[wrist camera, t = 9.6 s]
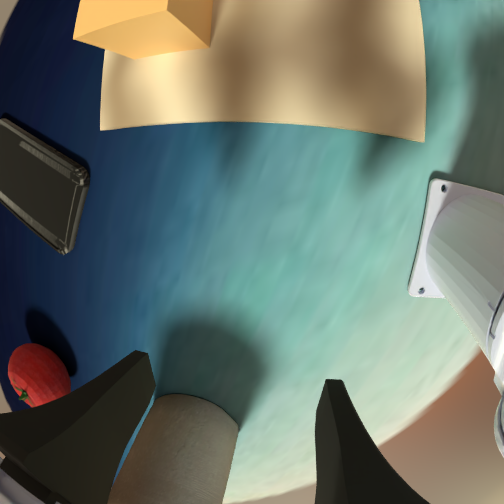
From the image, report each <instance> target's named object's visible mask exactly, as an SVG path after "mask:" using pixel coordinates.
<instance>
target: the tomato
mask: <svg viewBox="0 0 504 504" xmlns="http://www.w3.org/2000/svg"><path fill="white" fill-rule="evenodd" d="M8 375H9V378H10V381H11V383H12V384H11V385H12V386H13V387H14V389H15V391H16V392H17V393H18V395H19V396H20V397H19V400H22V399H23V401H25V402H26V403H27V404H29V405H30V406H31V407H36V406H39V405H42V404H45V403H48V402H50V401H53V400H55V399H58V398H60V397H62V396H64V395H67V394H69V393H70V392H71V381H70V377H69V374H68V372H67V369H66V367H65V365H64V363H63V362H62V361H61V359H60V358H59V357H58V356H57V355H56V354H55V353H54V352H53V351H51V350H50V349H48V348H46V347H44V346H42V345H39V344H36V343H32V344H24V345H22V346H20V347H18V348H16V349H15V351H14V352H13V354H12V356H11V358H10V361H9V365H8Z"/></svg>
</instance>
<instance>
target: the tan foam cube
mask: <svg viewBox="0 0 504 504" xmlns="http://www.w3.org/2000/svg"><path fill="white" fill-rule="evenodd" d="M212 8H213V0H81V1H80V5H79V10H78V14H77V19H76V25H75V30H74V36H73V39H74V40H78V41H81V42H85V43H88V44H91V45H94V46H97V47H100V48H103V49H106V50H109V51H112V52H115V53H118V54H121V55H123V56H126V57H129V58H131V59H134V60H135V59H139V58H144V57H149V56H155V55H160V54H166V53H172V52H179V51H187V50H195V49H205V48H210V34H211V20H212Z"/></svg>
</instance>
